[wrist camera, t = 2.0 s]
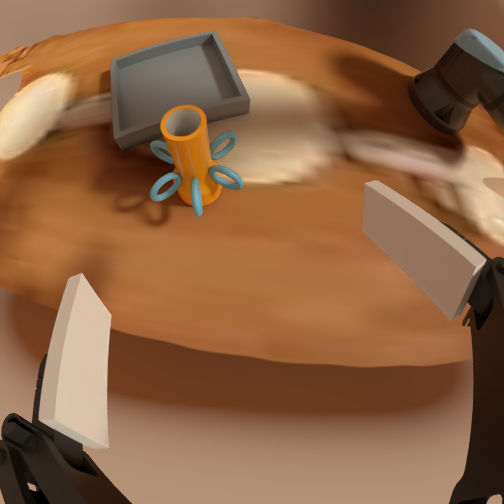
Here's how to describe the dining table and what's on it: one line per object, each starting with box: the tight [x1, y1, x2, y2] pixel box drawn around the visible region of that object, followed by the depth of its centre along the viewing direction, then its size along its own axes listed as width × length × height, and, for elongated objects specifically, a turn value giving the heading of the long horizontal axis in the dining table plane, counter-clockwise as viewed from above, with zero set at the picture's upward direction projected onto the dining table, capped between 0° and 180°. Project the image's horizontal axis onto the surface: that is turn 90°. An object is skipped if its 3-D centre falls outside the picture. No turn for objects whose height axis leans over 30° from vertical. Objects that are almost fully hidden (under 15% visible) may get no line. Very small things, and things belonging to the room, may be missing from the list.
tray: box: [110, 30, 250, 151], centre depth 37 cm, size 20×20×4 cm
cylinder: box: [150, 105, 244, 217], centre depth 28 cm, size 12×10×15 cm
